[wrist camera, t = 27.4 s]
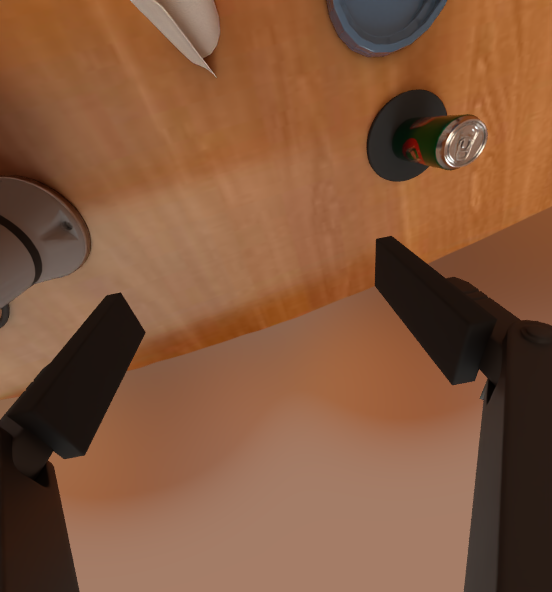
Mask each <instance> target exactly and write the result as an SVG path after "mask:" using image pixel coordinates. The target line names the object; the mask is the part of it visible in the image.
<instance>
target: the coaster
mask: <svg viewBox="0 0 552 592" xmlns="http://www.w3.org/2000/svg"><path fill="white" fill-rule="evenodd" d="M433 116H447V113H446V109H445V107H444V105H443V103H442V102H441V100H440V99H439V98H438V97H437V96H436V95H435V94H433V93H431V92H429V91H426V90H411V91H407V92H404V93H401V94H399V95H397V96H396V97H394V98H393V99H391V100H390V101H389V102H388V103H387V104H386V105H385V106H384V107H383V108H382V109H381V110H380V111H379V113H378V114H377V116H376V117H375V119H374V121H373V123H372V125H371V128H370V131H369V134H368V139H367V155H368V160H369V163H370V165H371V167H372V168H373V170H374V171H375V172H376V173H377V174H378V175H379V176H380V177H382V178H384V179H387V180H390V181H405V180H409V179H412V178H414V177H416V176H418V175H419V174H421V173H422V172H423V171H425V170H426V169H427V168H428V167H429V166H427V165H423V164H418V163H414V162H409V161H405V160H401V159H399V158H397V157H396V156H395V154H394V153H393V150H392V139H393V136H394V133H395V131H396V130H397V128H398V127H399V126H400V125H401V124H402V123H403V122H404V121H406V120H408V119H410V118H416V117H433Z"/></svg>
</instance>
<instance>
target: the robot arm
mask: <svg viewBox="0 0 552 592" xmlns="http://www.w3.org/2000/svg"><path fill="white" fill-rule="evenodd" d="M90 249H91V239H90V234H89V231H88V228H87V226H86V224H85V222H84V220H83V218H82V217H81V215H80V214H79V213H78V211H77V210H76V209H75V208H74V206H73V205H72V204H71V203H70V202H69V201H68V200H66V199H65V198H64V197H63V196H62V195H60V194H59V193H58V192H56V191H55V190H53V189H52V188H50V187H48V186H46V185H44V184H42V183H40V182H38V181H35V180H32V179H29V178H25V177H21V176H11V175H8V176H0V309H1V310H2V316H1V318H0V328H1V327H3V326H4V325H5V323H6V322H7V320H8V317H9V306H8V303H9V302H11V301H12V300H13V299H15V298H16V297H17V296H19V295H20V294H21V293H23V292H24V291H25V290H27V289H28V288H29V287H31V286H32V285H34V284H36V283H40V282H44V281H47V280H51V279H55V278H60V277H64V276H66V275H69V274H71V273H73V272H74V271H76V270H77V269H78V268H79V267H81V266H82V265H83V264H84V263H85V261H86V260H87V258H88V256H89V254H90ZM375 287H376V288H377V289H378V290H379V292H380V293H381V294H382V295H383V297H384V298H385V299H386V301H387V302H388V303H389V305H390V306H391V307H392V308H393V310H394V311H395V312H396V314H397V315H398V316H399V317H400V319H401V320H402V321H403V323H404V324H405V325H406V326H407V328H408V329H409V330H410V332H411V333H412V334H413V335H414V337H415V338H416V339H417V341H418V342H419V343H420V344H421V346H422V347H423V348H424V350H425V351H426V352H427V353H428V355H429V356H430V357H431V359H432V360H433V361H434V362H435V364H436V365H437V366H438V368H439V369H440V370H441V371H442V373H443V374H444V375H445V376H446V378H447V379H448V380H449V382H450V383H451V384H452V385H456V384H462V383H467V382H472V381H475V379H476V376H477V373H478V370H479V369H480V370H481V371H482V372H483V374H484V375H485V376H486V377H487V378H488V379H487V382H486V384H485V387H484V389H483V391H482V394H481V396H480V399H482V400H484V403H483V411H482V421H481V432H480V441H479V450H478V461H477V470H476V479H475V489H474V499H473V508H472V519H471V528H470V537H469V547H468V557H467V566H466V577H465V586H464V592H552V326H551V325H549V324H545V323H541V322H538V321H530V320H522V321H521V320H520V319H518V318H517V317H516V316H514V315H513V314H512V313H510V312H509V311H507V310H506V309H505V308H503V307H502V306H500V305H499V304H498V303H496V302H495V301H494V300H492V299H491V298H488V297H487V295H485V294H484V293H482V292H481V291H480V292H479V290H478V289H477V288H476V287H474V286H473V285H471V284H470V283H469V282H466V281H464V280H461V279H459V278H456V277H451V278H444V277H443V276H442V275H441V274H439V273H438V272H437V271H436V270H434V269H433V268H432V267H430V266H429V265H428V264H427V263H425V262H424V261H423V260H422V259H420V258H419V257H418V256H416V255H415V254H414V253H413V252H411V251H410V250H409V249H408V248H406V247H405V246H404V245H402V244H401V243H400V242H399V241H397V240H396V239H395V238H394V237H392V236H388V237H384V238H379V239H376V262H375ZM145 333H146V332H145V331H144V329H143V328H142V326H141V324H140V323H139V321H138V319H137V318H136V316H135V315H134V313H133V311H132V310H131V308H130V307H129V305H128V303H127V302H126V300H125V298H124V297H123V295H122V294H121V293H116V294H111V295H107V296H106V297H105V298H104V299H103V300H102V301H101V303H100V304H99V305H98V306H97V307H96V309H95V310H94V311H93V312H92V314H91V315H90V316H89V317H88V318H87V320H86V321H85V322H84V323H83V324H82V326H81V327H80V328H79V329H78V330H77V332H76V333H75V334H74V335H73V336H72V338H71V339H70V340H69V341H68V342H67V344H66V345H65V346H64V347H63V349H62V350H61V351H60V352H59V353H58V355H57V356H56V357H55V358H54V359H53V361H52V362H51V363H50V364H48V365H47V366H46V367H45V368H44V369H42V371H41V372H40V373H39V374H38V375H37V377H36V378H35V379H34V382H32V383H31V384H30V385H29V386H28V387H27V388H26V391H24V392H23V393H22V394H21V396H20V397H19V398H18V399H17V401H16V402H15V403H14V404H13V405H12V406H11V408H10V409H9V410H8V411H7V412H6V414H5V415H4V416H3V417H2V418H1V420H0V592H79V587H78V582H77V577H76V572H75V568H74V563H73V558H72V553H71V549H70V544H69V539H68V533H67V528H66V523H65V519H64V514H63V509H62V504H61V499H60V494H59V489H58V484H57V479H56V475H55V470H54V466H53V465H52V463H51V462H49V461H48V459H49V457H50V456H51V454H52V452H53V451H54V452H55V453H57V454H58V455H59V456H61V457H62V458H63V459H67V458H73V457H78V456H84V455H85V454H86V452H87V450H88V448H89V445H90V444H91V442H92V440H93V437H94V436H95V433H96V432H97V429H98V427H99V425H100V423H101V421H102V419H103V417H104V415H105V413H106V411H107V409H108V407H109V405H110V403H111V401H112V399H113V397H114V395H115V393H116V391H117V389H118V387H119V385H120V383H121V381H122V379H123V377H124V375H125V373H126V371H127V369H128V367H129V365H130V363H131V361H132V359H133V357H134V355H135V353H136V351H137V349H138V347H139V345H140V343H141V341H142V339H143V337H144V335H145Z"/></svg>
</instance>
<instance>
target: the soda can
mask: <svg viewBox="0 0 552 592" xmlns="http://www.w3.org/2000/svg"><path fill="white" fill-rule="evenodd" d="M487 136H488V132H487V128H486V125H485V124H484V123H483V122H482V121H481V120H480V119H479V118H478V117H476V116H474V115H468V114H467V115H450V116H433V117H416V118H410V119H408V120H406V121H404V122H403V123H402V124H401V125H400V126H399V127H398V128H397V130H396V131H395V133H394V136H393V139H392V150H393V153H394V154H395V156H396V157H397V158H399V159H401V160H405V161H409V162H414V163H418V164H423V165H427V166H432V167H436V168H441V169H445V170H455V169H458V168H460V167H463V166H466V165H468V164H470V163H471V162H473V161H474V160H475V159H476V158H477V157H478V156H479V155H480V154H481V152H482V151H483V149H484V147H485V144H486V141H487Z"/></svg>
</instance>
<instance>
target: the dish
mask: <svg viewBox="0 0 552 592" xmlns="http://www.w3.org/2000/svg"><path fill="white" fill-rule="evenodd" d="M326 1H327V7H328V12H329V17H330V19H331V21H332V23H333V25H334V28H335V30H336V32H337V34H338V36H339V37H340V38H341V40H342V41H343V42H344V43H345V44H346V45H347V46H348V47H349V48H350V49H351V50H352V51H355V52H357V53H359V54H361V55H364V56H366V57H384V56H387V55H389V54H391V53H394V52H396V51H398V50H401V49H403V48H404V47H406V46H408V45H410V44H412V43H413V42H414V41H415V40H416V39H417V38H418V37H420V36H421V35H422V34H423V33H424V32H425V31H427V30H428V29H429V27H430V26H431V25H432V23H433V22H434V20H435V19H436V18H437V16H438V15H439V13H440V12H441V11H442V9H443V8H444V6H445V4H446V2H447V0H326Z"/></svg>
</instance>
